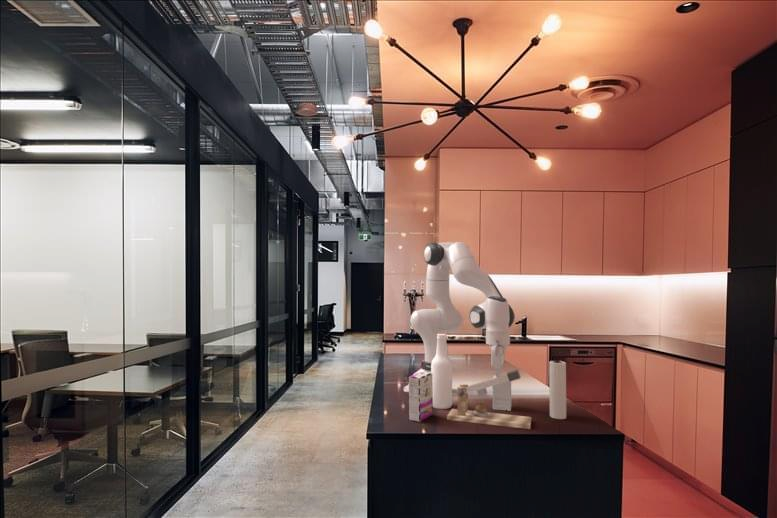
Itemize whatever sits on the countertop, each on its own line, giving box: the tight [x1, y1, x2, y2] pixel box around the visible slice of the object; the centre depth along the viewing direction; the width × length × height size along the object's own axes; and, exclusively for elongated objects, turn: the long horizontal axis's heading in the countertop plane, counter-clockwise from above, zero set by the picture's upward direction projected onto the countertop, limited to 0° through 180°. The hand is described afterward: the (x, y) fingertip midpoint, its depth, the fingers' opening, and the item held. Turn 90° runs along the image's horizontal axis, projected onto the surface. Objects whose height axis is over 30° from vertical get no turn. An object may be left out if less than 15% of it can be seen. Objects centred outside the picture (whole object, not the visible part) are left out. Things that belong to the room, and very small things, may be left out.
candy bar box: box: [408, 372, 434, 423], centre depth 173 cm, size 11×5×16 cm, turn 148°
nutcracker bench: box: [446, 383, 532, 430], centre depth 170 cm, size 30×10×12 cm, turn 70°
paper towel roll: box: [548, 360, 567, 420], centre depth 175 cm, size 7×6×21 cm
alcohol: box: [431, 333, 453, 410], centre depth 189 cm, size 9×9×30 cm
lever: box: [466, 368, 522, 398], centre depth 171 cm, size 24×4×5 cm, turn 72°
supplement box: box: [491, 374, 513, 412], centre depth 187 cm, size 7×7×13 cm
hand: (498, 376), depth 169 cm, fingers closed, pressing on lever
